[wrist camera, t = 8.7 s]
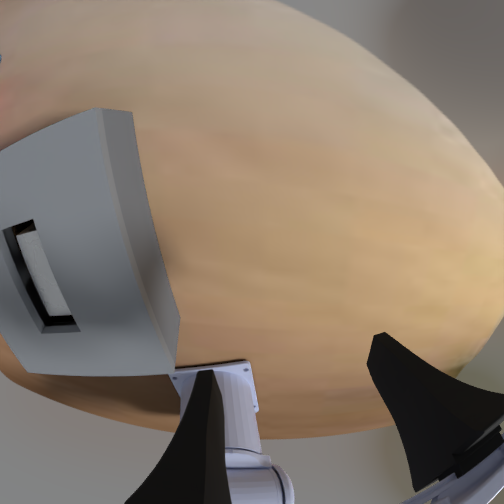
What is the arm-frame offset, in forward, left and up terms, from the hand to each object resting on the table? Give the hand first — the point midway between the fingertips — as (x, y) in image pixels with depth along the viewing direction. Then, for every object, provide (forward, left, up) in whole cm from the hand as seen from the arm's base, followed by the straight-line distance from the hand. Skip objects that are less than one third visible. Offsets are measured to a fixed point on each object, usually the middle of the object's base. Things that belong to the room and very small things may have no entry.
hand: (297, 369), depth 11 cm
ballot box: (+4, +14, -10) cm, 18 cm away
